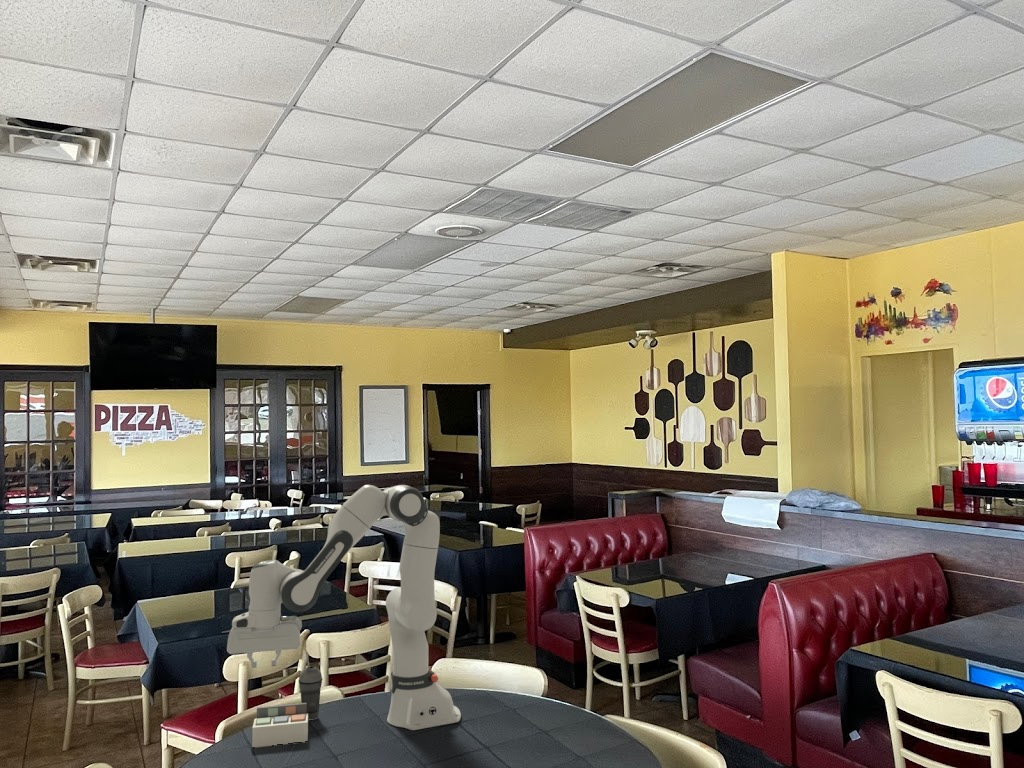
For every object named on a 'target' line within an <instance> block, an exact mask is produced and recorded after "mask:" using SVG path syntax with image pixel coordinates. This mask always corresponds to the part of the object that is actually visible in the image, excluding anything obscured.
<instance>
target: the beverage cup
mask: <svg viewBox="0 0 1024 768" xmlns="http://www.w3.org/2000/svg"><path fill="white" fill-rule="evenodd" d="M305 653H306V662H307V667H305V668H304V669H302V671H301V672H300V675H299V678H298V683H299V690H300V703H307V706H306V714H308V720H309V719H315V718H317V717H318V716H319V711H320V710H319V709H320V700H321V699H320V698H321V688H322V683H323V675H322V672H321V670H320V669H319V668H318V667H316V666H314V665H313V666H312V665H311V666H310V660H309V658H310V657H309V652H308V651H306V652H305ZM318 718H319V717H318ZM318 718H317V719H318Z"/></svg>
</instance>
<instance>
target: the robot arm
mask: <svg viewBox="0 0 1024 768" xmlns="http://www.w3.org/2000/svg"><path fill="white" fill-rule="evenodd" d="M385 516H386V517H388V518H391V519H393V520H394V521H397V522H402V523H403V524H404V531H405V532H404V533H405V534H404V538H403V543H402V548H401V549H402V550H401V556H400V561H399V576H400V586H398V587H396V588H393V589H392V590H390V591H389V593H388V595H387V596H386V600H385V607H386V611H387V618H388V624H389V625H388V626H389V632H390V638H391V648H392V653H391V654H392V655H391V657H392V672H391V674H390V692H391V698H390V706H389V710H388V715H387V719H386V721H387V723H388V724H389V725H392V726H394V727H398V728H405V729H408V730H410V731H416V730H422V729H427V728H433V727H438V726H443V725H450V724H454V723H459V722H460V720H461V719H462V714H461V711H460V709H459V708H458V706H456V705H454V702H453V698H452V696H451V694H450V692H449V691H448V690H447V689H445V688H444V687H442V686H441V685H439V684H438V683H437V682H438V680H439V678H438V677H439V676H438V675H437V674H436V673H435V672H434V671H433V670H432V669H429V643H428V640H427V636H426V633H425V632H426V631H428V630H429V629H430V628H432V627H433V625H434V624H435V622H436V621H437V616H438V615H437V613H438V611H437V608H436V600H435V598H436V597H435V571H436V564H437V558H438V557H437V556H438V551H439V544H440V534H441V533H440V532H441V531H440V529H441V526H440V525H441V524H440V518H439V516H438V515H437V514H436V513H435V512H433V511H431V510H428V507H427V505H426V501H425V498H424V496H423V494H422V493H421V492H420V490H418V489H417V488H416V487H413V486H410V485H406V484H395V485H391V486H388V487H386V488H383V489H380V488H379V487H378V486H375V485H374V484H373V485H371V484H364V485H363V486H361V487H360V488H359V489H358V490H356V491H355V492H354V493H353V494H352V495H351V496H350V497H349V498H347V499H346V501H345V502H343V504H342V505H341V506H340V507H339V509H338V510H337V511H336V512H335V513H334V515H333V517H332V519H331V520H330V521H329V524H328V528H327V529H328V530H327V537H326V541H325V543H324V545H323V547H322V549H321V550H320V551H319V552H318V554H317V555H316V556H315V557H314V559H313V560H312V561H311V562H310V564H309V565H308V566H307V567H306V569H304V570H302V569H299V568H295V567H290V566H288V565H286V564H284V563H281V562H280V561H279V560H277V559H268V560H263V561H260V562H258V563H256V564H255V565H253V567H252V568H251V569H250V570H251V571H250V573H249V580H248V581H249V582H248V595H249V600H250V601H249V605H248V611H247V612H244V613H241V614H239V615H237V616H234V617H233V619H232V621H231V626H232V627H231V629H230V631H229V634H228V637H227V644H226V652H227V653H228V654H229V655H235V654H236V655H237V654H246V653H247V654H246V657H247V659H248V660H249V661H250V668H251V669H255V668H256V669H257V668H258V659H254V658H253V654H254V653H259V652H261V653H262V652H273V651H275V654H276V656H275V657H274V658H271V667H278V660H279V657H280V656H281V655H282V651H286V650H290V651H291V650H298V649H299V648H300V646H301V643H302V642H301V632H300V631H301V629H302V627H303V622H302V619H301V618H300V617H298V616H297V615H291V616H287V615H286V616H282V613H281V611H282V609H281V608H282V607H281V604H283V606H284V607H285V608H286V609H288V611H290V612H293V613H303V612H306V611H308V610H310V609H312V607H313V606H314V605H315V604H316V603H317V601H318V598H319V595H320V592H321V589H322V587H323V585H324V583H325V582H326V580H327V579H328V577H330V576H331V574H332V572H333V571H334V570H335V569H336V568H337V566H338V565H339V563H340V562H341V561H342V560H343V558H344V557H346V555H347V553H349V551H350V550H352V548H353V547H354V546H355V545H356V544H357V543H358V542H359V541H361V539H362V538H363V537H364V536H365V535H366V534H367V533H368V531H369V530H370V529H371V528H372V526H373V525H374V524H375V523H376V522H377V521H378V520H379V519H380V518H382V517H385Z"/></svg>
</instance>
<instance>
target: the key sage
mask: <svg viewBox="0 0 1024 768" xmlns="http://www.w3.org/2000/svg"><path fill="white" fill-rule="evenodd" d="M270 719H271V717H270V718H260V719H257V723H256V726H257V725H267V724H270Z"/></svg>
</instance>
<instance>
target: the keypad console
mask: <svg viewBox="0 0 1024 768" xmlns="http://www.w3.org/2000/svg"><path fill="white" fill-rule="evenodd" d="M306 706H307V703H301V702H299V703H289V704H277V705H268V706H266V705H265V706H257V707H256V718H254V720H253V724H252V738H251V739H252V742H251V743H252V747H255V748H263V747H271V746H272V745H274V746H278V745H277V744H283V745H289V744H288V743H293V742H302V743H306V742H305V741H308V738H309V737H308V736H309V721H308V714H306ZM301 714H305V721H297V722H292V715H301ZM280 716H288V722H287V723H277V724H274V719H275V717H280ZM270 717H271V719H270V724H267V725H257V726H256V723H257V719H260V718H270ZM293 744H294V743H293Z"/></svg>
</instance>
